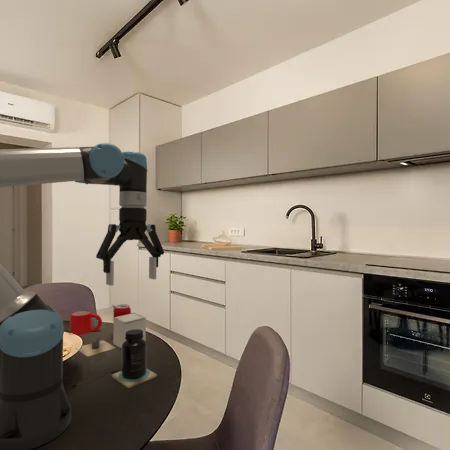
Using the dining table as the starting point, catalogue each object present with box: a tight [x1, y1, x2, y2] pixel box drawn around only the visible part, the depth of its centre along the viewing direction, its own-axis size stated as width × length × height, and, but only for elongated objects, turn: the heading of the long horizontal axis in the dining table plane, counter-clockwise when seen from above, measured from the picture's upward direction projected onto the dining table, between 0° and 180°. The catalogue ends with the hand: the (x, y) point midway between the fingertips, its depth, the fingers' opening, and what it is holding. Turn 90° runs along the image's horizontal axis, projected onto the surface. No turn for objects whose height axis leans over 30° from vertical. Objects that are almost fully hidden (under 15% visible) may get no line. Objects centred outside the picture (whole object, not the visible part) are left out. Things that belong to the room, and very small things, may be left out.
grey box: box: [112, 312, 147, 349], centre depth 112 cm, size 8×8×10 cm
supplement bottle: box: [121, 329, 148, 379], centre depth 89 cm, size 7×7×12 cm
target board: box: [111, 368, 158, 389], centre depth 90 cm, size 9×9×1 cm
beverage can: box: [112, 303, 132, 337], centre depth 120 cm, size 6×6×12 cm
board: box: [78, 334, 117, 357], centre depth 108 cm, size 10×10×5 cm
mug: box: [69, 309, 103, 336], centre depth 125 cm, size 8×12×8 cm, turn 96°
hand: (132, 281), depth 90 cm, fingers open, 13 cm apart
